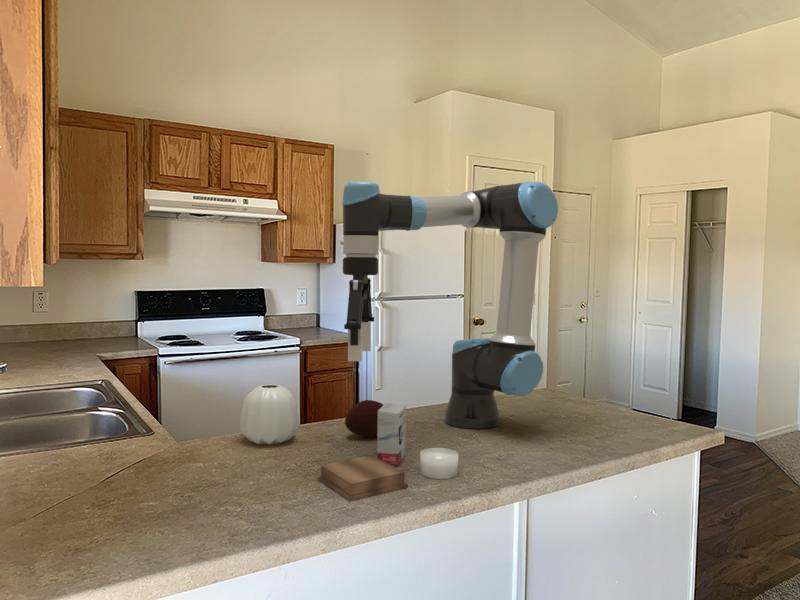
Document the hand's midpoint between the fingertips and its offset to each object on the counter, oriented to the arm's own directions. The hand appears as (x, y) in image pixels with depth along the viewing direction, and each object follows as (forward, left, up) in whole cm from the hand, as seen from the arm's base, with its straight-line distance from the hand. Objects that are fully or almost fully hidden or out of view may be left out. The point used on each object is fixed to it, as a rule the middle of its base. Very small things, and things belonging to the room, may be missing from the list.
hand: (359, 355), depth 132 cm
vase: (+9, -27, -24) cm, 37 cm away
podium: (+5, +10, -24) cm, 26 cm away
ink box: (-8, +1, -24) cm, 25 cm away
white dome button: (-12, +13, -24) cm, 30 cm away
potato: (-13, -17, -24) cm, 32 cm away
